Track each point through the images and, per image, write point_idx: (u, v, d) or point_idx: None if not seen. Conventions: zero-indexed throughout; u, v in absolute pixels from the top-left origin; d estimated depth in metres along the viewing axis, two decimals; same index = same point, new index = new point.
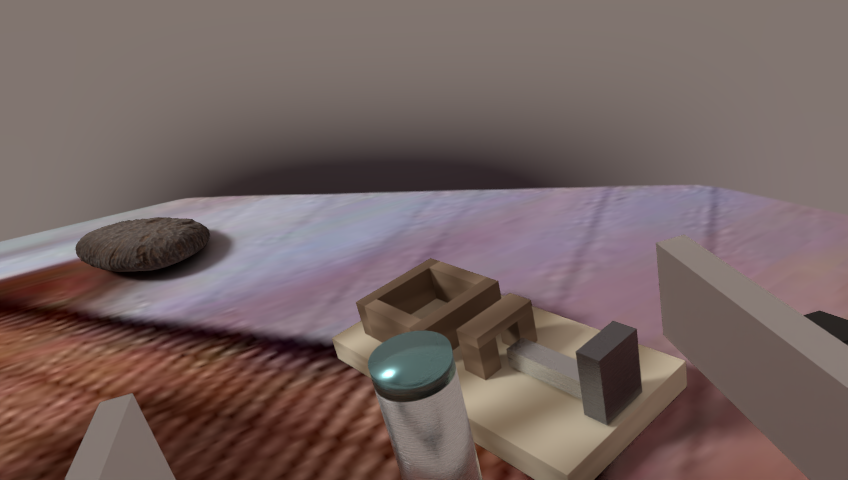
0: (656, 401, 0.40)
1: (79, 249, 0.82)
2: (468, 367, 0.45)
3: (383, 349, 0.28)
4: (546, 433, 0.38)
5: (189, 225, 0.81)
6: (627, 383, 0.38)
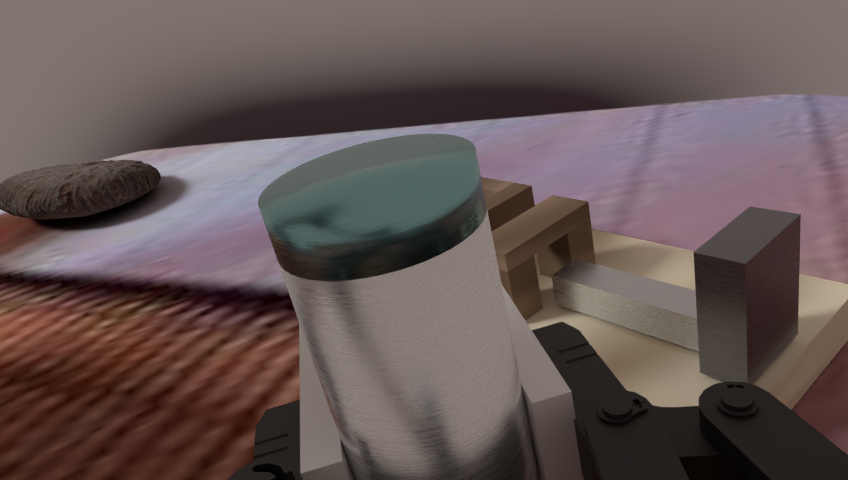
0: (818, 351, 0.23)
1: None
2: None
3: (305, 171, 0.11)
4: None
5: (132, 163, 0.65)
6: (780, 315, 0.21)
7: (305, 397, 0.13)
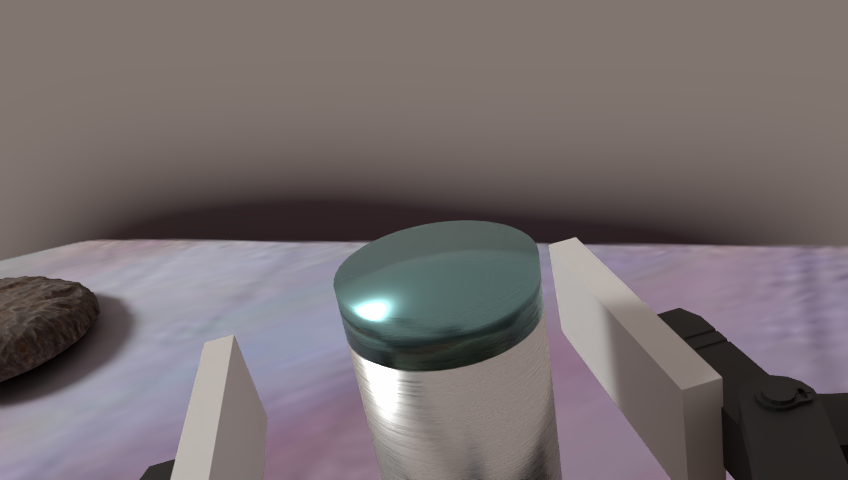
0: None
1: None
2: None
3: (372, 253, 0.12)
4: None
5: (57, 300, 0.47)
6: None
7: (181, 458, 0.12)
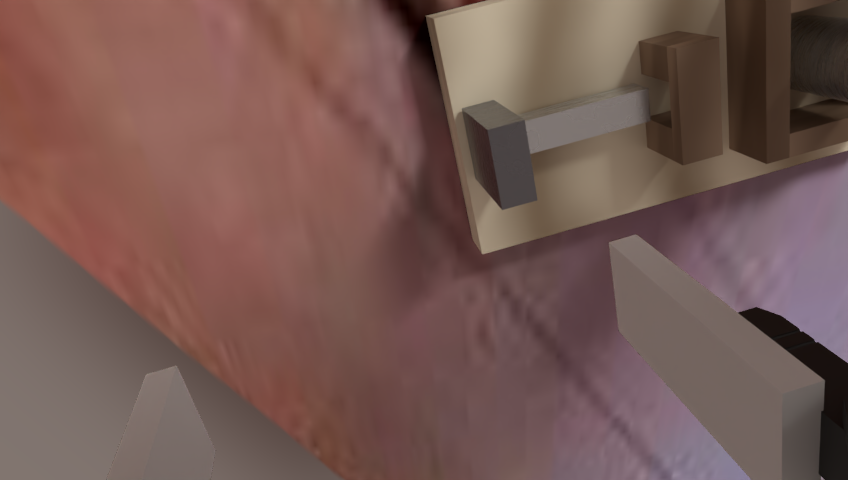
0: (465, 188, 0.33)
1: None
2: (674, 33, 0.31)
3: None
4: (503, 43, 0.30)
5: None
6: (478, 161, 0.30)
7: None
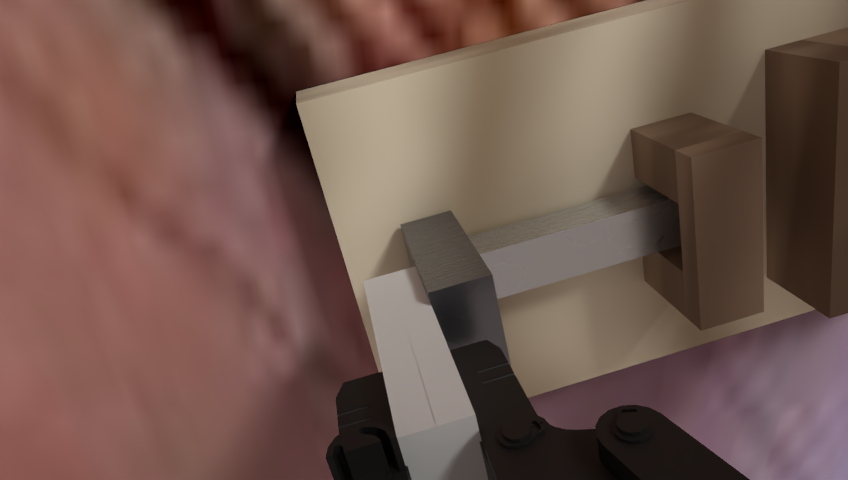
0: None
1: None
2: (686, 118, 0.20)
3: None
4: (414, 139, 0.19)
5: None
6: None
7: (387, 368, 0.14)
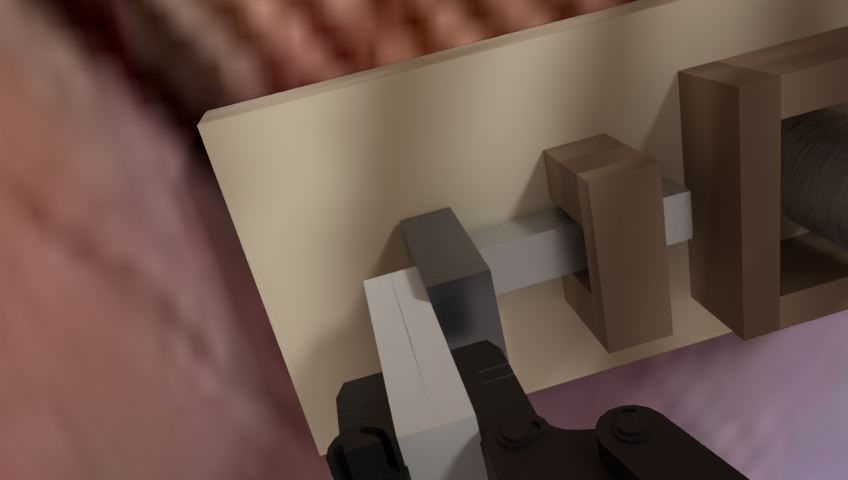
0: None
1: None
2: (598, 139, 0.20)
3: None
4: (321, 160, 0.19)
5: None
6: None
7: (387, 368, 0.14)
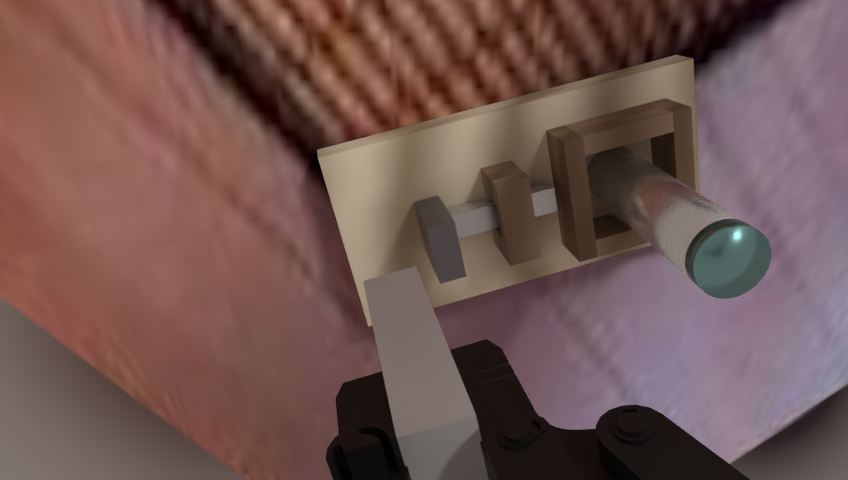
0: None
1: None
2: (506, 163, 0.41)
3: (762, 250, 0.30)
4: (373, 173, 0.40)
5: None
6: (425, 243, 0.40)
7: (387, 368, 0.14)
